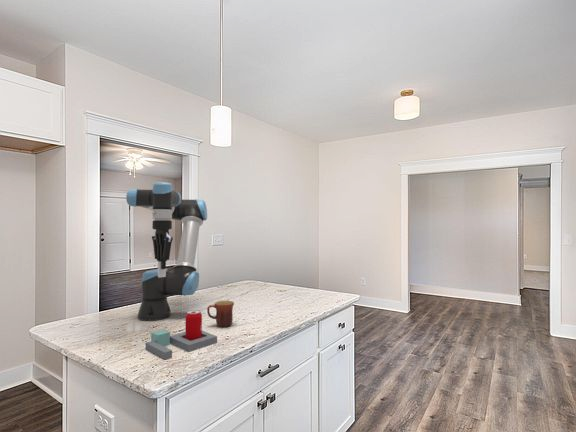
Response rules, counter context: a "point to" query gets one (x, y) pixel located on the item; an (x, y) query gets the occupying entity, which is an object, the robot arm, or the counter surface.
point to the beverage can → (193, 325)
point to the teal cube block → (161, 337)
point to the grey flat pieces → (181, 344)
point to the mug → (222, 313)
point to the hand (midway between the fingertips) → (161, 276)
